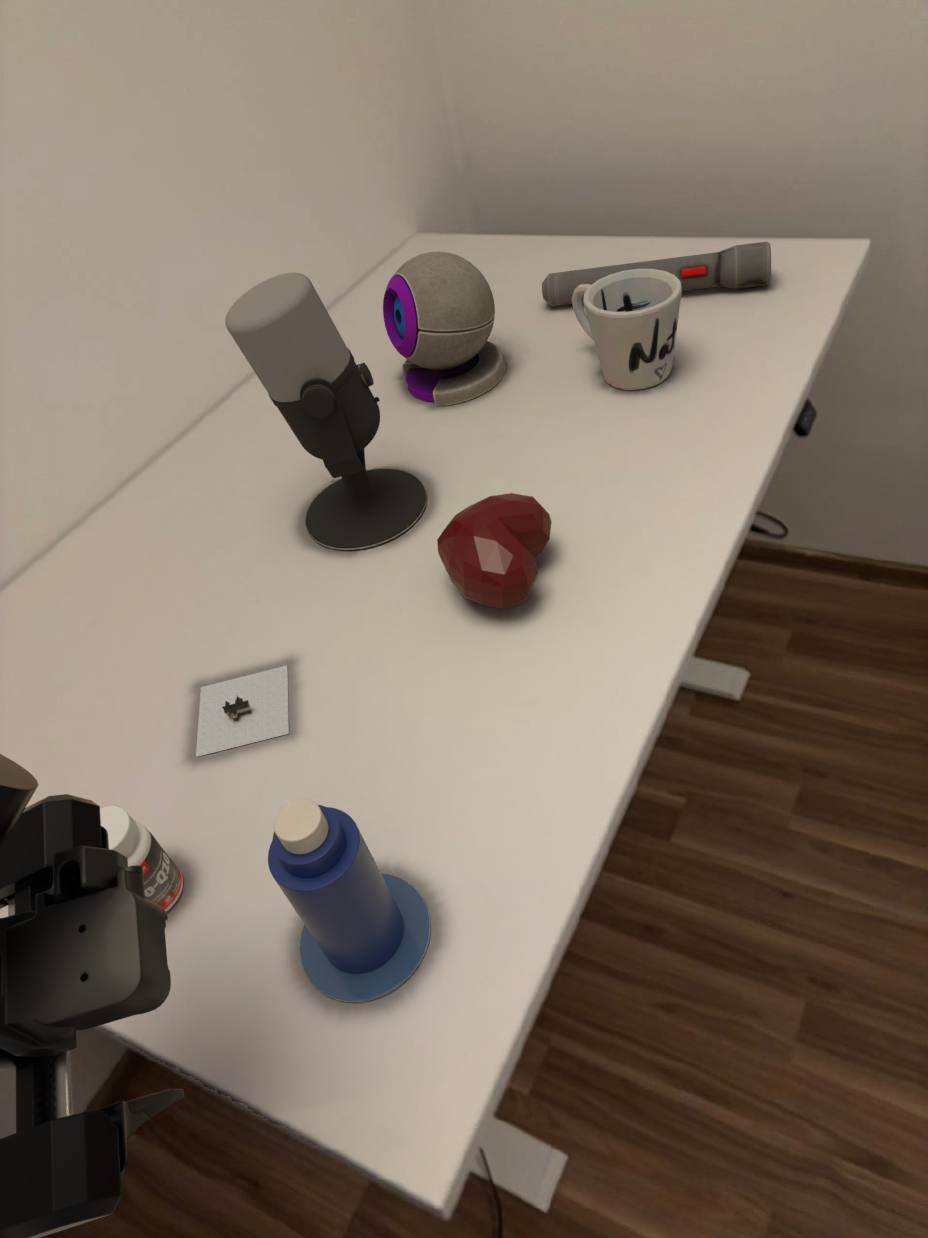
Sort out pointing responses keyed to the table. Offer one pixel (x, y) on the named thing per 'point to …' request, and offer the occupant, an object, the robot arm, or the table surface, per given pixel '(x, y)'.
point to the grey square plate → (243, 711)
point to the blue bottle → (335, 886)
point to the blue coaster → (388, 974)
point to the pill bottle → (143, 855)
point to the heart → (495, 548)
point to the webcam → (443, 328)
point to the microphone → (325, 411)
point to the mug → (632, 324)
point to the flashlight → (677, 272)
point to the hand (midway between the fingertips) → (169, 1003)
